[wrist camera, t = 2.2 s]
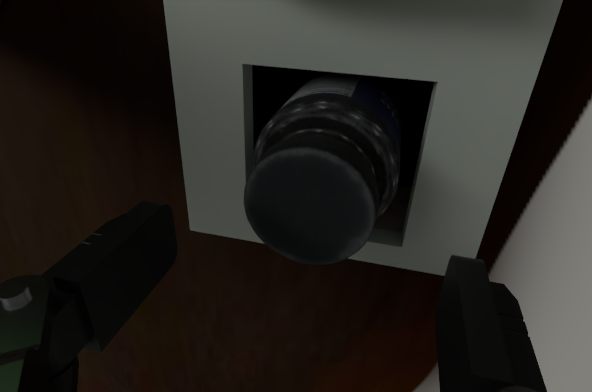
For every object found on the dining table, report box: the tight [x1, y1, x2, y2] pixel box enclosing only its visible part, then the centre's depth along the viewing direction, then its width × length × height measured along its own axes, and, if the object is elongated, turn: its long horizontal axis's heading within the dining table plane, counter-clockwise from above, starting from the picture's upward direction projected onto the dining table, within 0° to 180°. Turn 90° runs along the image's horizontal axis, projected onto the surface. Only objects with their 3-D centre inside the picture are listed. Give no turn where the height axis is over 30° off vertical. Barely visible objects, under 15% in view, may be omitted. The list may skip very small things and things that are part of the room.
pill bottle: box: [244, 71, 402, 265], centre depth 18 cm, size 6×6×11 cm
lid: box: [163, 0, 563, 276], centre depth 14 cm, size 14×18×5 cm
